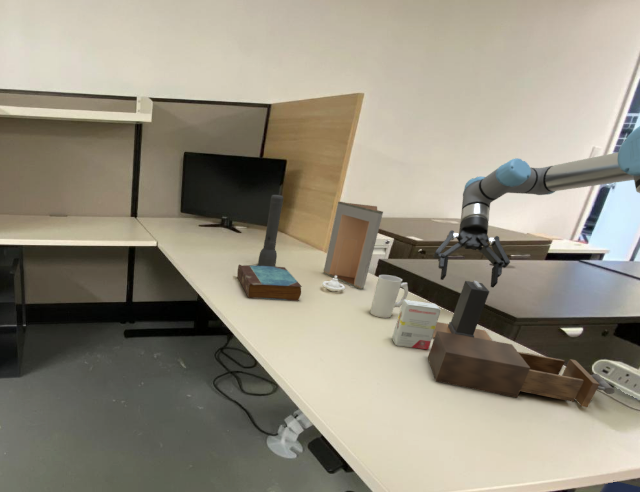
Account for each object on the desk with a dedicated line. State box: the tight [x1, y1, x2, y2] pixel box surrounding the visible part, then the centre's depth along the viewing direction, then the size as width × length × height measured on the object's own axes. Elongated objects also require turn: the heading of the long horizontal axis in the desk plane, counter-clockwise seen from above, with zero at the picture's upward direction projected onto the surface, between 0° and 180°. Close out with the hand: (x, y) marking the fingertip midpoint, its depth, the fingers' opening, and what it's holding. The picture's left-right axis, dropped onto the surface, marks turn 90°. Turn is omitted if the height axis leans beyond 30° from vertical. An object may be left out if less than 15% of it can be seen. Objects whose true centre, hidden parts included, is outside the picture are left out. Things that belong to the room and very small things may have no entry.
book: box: [236, 264, 303, 302], centre depth 162 cm, size 23×18×5 cm
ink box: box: [391, 299, 442, 350], centre depth 125 cm, size 9×5×12 cm, turn 78°
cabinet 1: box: [322, 201, 384, 290], centre depth 175 cm, size 21×10×28 cm, turn 23°
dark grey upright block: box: [448, 280, 490, 337], centre depth 133 cm, size 5×9×15 cm, turn 161°
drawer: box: [517, 351, 615, 408], centre depth 106 cm, size 20×12×6 cm, turn 71°
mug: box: [369, 274, 409, 319], centre depth 145 cm, size 10×7×12 cm, turn 89°
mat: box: [432, 321, 493, 341], centre depth 136 cm, size 16×14×1 cm
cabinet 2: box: [427, 331, 530, 399], centre depth 110 cm, size 17×14×8 cm
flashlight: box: [257, 194, 284, 267], centre depth 185 cm, size 7×28×7 cm
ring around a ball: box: [321, 275, 346, 293], centre depth 166 cm, size 8×6×8 cm
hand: (468, 281), depth 139 cm, fingers open, 13 cm apart
